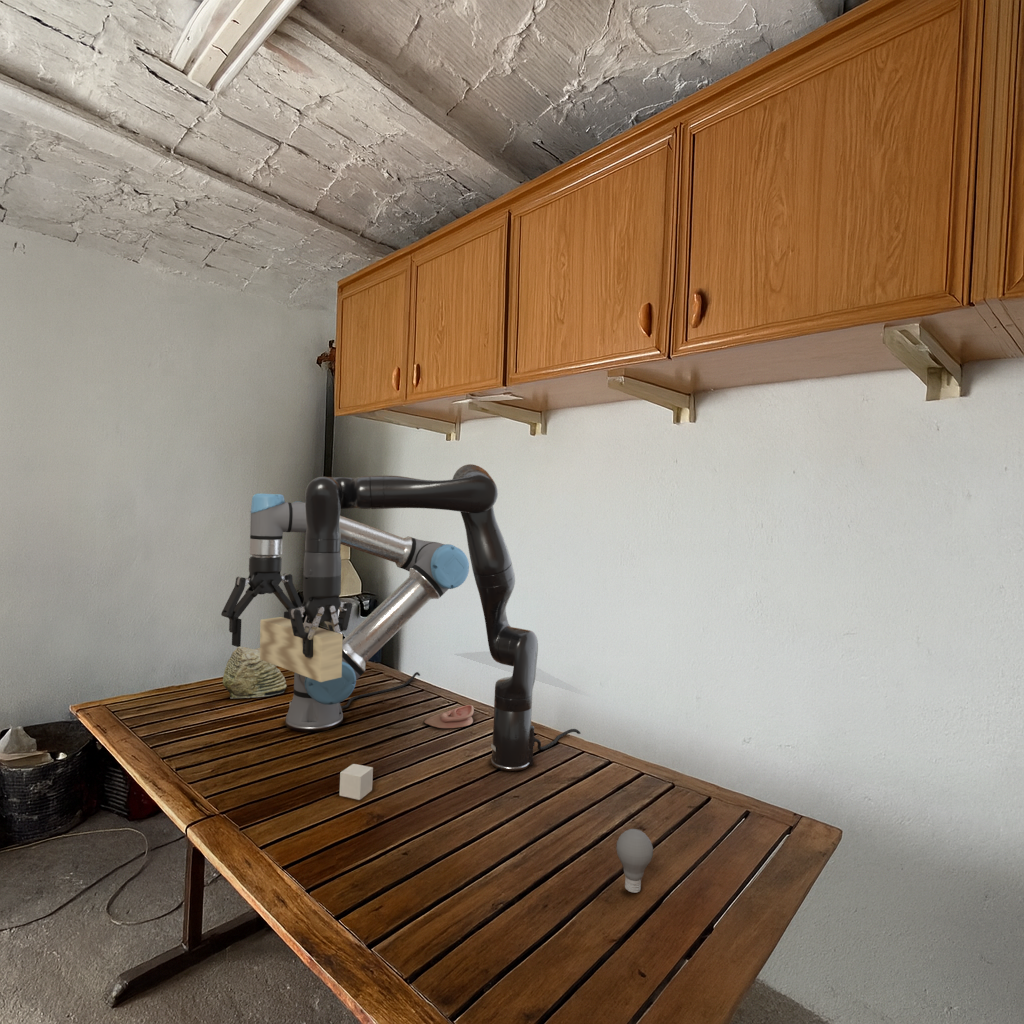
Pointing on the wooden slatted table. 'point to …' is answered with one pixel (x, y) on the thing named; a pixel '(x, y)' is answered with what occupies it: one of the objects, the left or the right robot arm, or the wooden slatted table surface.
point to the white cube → (356, 781)
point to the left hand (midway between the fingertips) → (262, 641)
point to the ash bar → (301, 650)
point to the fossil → (252, 675)
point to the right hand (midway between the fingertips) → (320, 654)
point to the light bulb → (634, 857)
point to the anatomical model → (452, 718)
